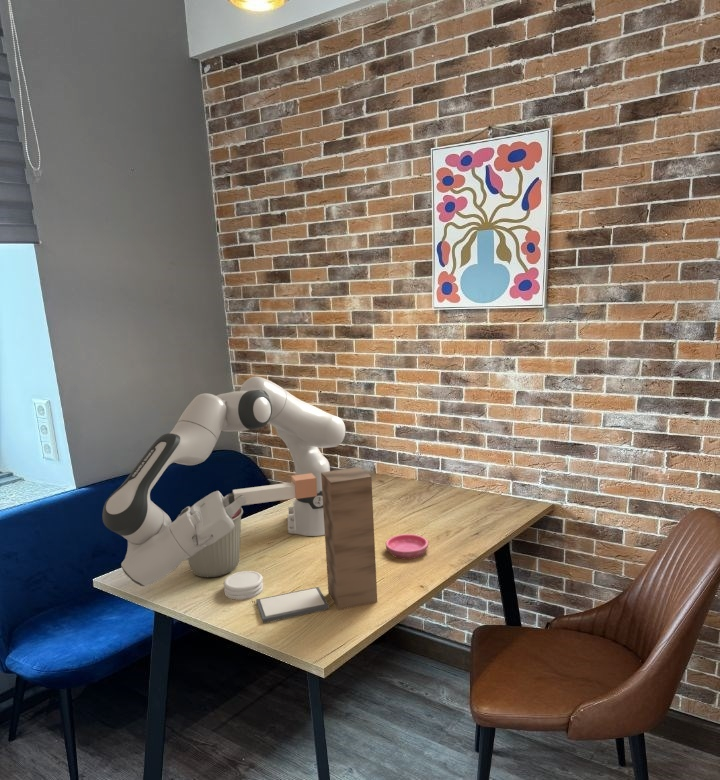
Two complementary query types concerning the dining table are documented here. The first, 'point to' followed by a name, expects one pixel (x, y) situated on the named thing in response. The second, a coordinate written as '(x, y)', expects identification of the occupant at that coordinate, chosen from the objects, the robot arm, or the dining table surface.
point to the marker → (278, 490)
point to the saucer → (407, 545)
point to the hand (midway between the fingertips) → (243, 494)
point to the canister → (219, 553)
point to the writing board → (291, 604)
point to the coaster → (243, 585)
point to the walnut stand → (349, 537)
